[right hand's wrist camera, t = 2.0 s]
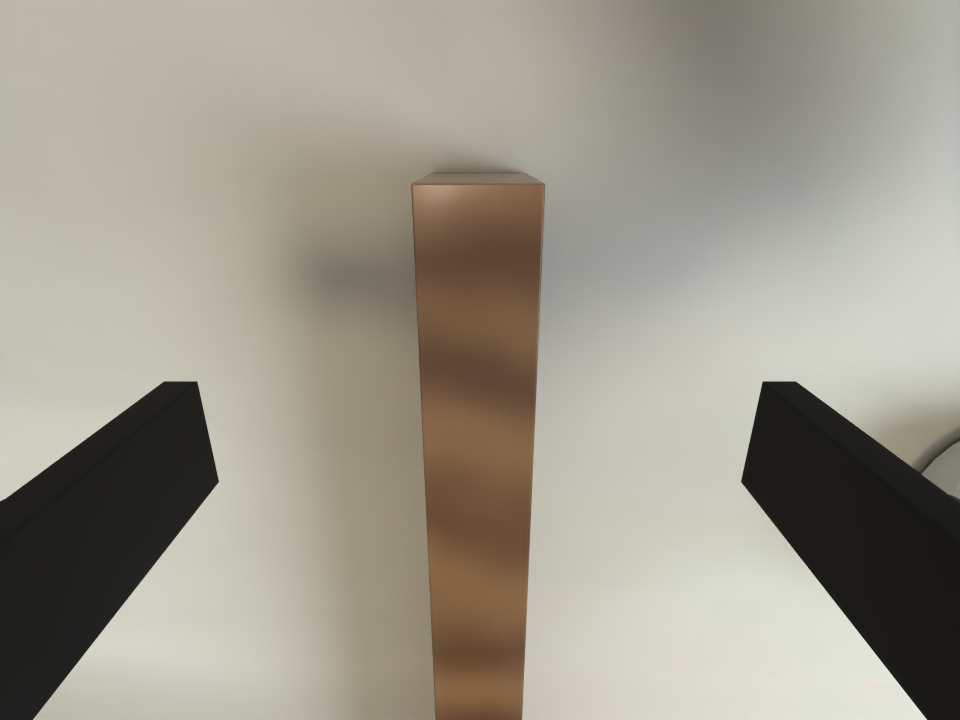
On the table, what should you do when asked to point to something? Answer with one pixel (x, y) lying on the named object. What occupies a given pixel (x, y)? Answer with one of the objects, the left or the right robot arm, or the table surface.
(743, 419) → the table surface
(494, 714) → the beam
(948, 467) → the flag stand
